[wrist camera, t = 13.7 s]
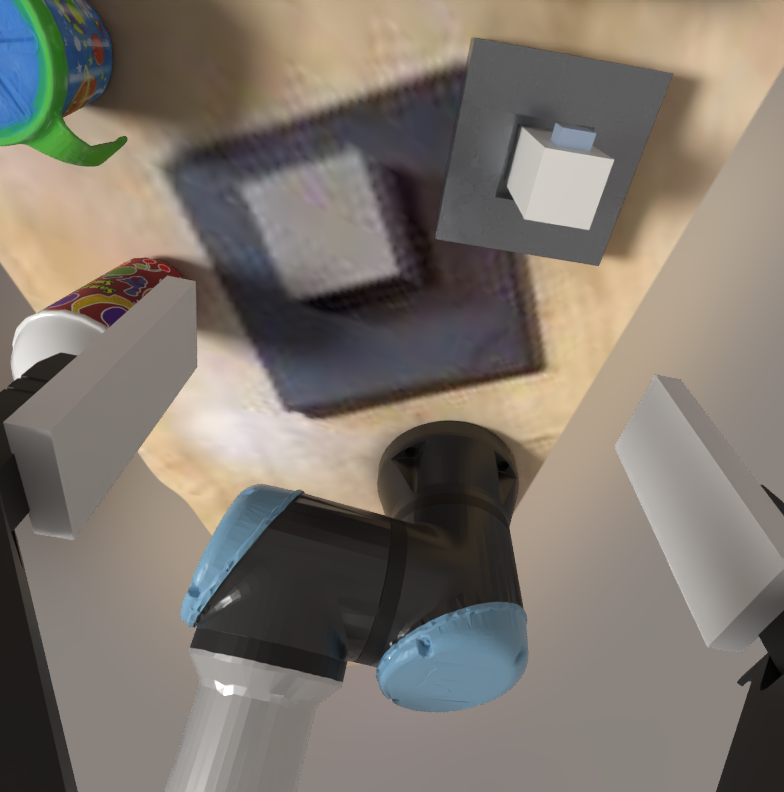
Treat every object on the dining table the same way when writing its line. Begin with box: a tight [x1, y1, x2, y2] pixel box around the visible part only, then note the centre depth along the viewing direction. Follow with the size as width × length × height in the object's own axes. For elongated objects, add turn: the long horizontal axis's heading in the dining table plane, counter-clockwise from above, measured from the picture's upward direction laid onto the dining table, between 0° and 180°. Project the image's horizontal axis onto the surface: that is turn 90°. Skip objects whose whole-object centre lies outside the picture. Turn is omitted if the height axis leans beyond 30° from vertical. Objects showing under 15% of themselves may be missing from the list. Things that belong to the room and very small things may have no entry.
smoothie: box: [11, 258, 184, 381], centre depth 39 cm, size 8×8×20 cm
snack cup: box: [0, 0, 127, 166], centre depth 33 cm, size 16×10×10 cm
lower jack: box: [435, 38, 673, 266], centre depth 39 cm, size 13×13×3 cm
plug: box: [505, 123, 614, 230], centre depth 35 cm, size 5×4×10 cm
